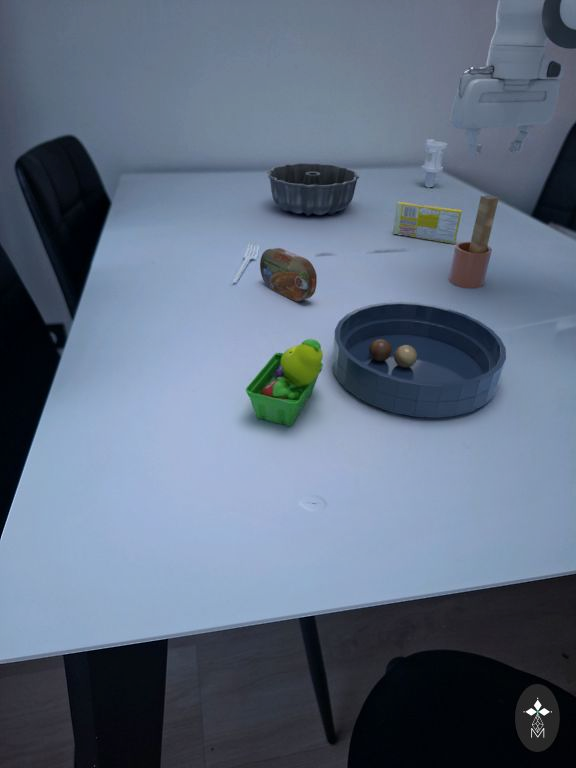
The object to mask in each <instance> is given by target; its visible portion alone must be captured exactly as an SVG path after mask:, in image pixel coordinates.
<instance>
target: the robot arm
mask: <svg viewBox="0 0 576 768" xmlns="http://www.w3.org/2000/svg"><path fill="white" fill-rule="evenodd" d="M495 19H496V22H495V23H496V24H495V29H494V33H493V36H492V37H491V41H490V43H489V47H488V48H489V49H488V54H487V59H486V65H484V66H475V65H474V66H469V67H468V69H467V70H464V72H463V73H462V74H461V75H460V77H459V81H458V87H457V90H456V93H455V97H454V100H453V104H452V106H451V107H452V108H451V112H450V117H449V121H450V124H451V126H452V127H453V128H456V129H460V130H465V136H466V140H467V144H468V148H467V155H469V156H474V157H475V156H479V155H481V150H482V147H483V144H479V141H478V136H480V134H481V129H489V128H490V129H492V128H493V129H494V128H507V127H508V128H509V127H518V128H517V131H518V133H517V135H516V137H515V139H514V140H510V143H509V144H510V145H509V148H508V150H509V152H510V153H513V154H514V153H521V152H522V151H523V148H524V143H526V141H527V139H528V138H529V137H530V136H531V133H532V132H533V128H534V126H545V125H549V123H550V122H551V121H552V119H553V117H554V116H555V112H556V109H557V105H558V101H559V95H560V92H561V91H560V90H561V83H560V79H561V78H562V77H563V76H564V73H565V70H566V65H565V64H564V63H562V62H561V61H558V60H557V59H555V58H553V57H552V56H550V55H548V54H546V50H547V49H546V48H547V45H548V41H550V42H552V44H553V45H556V46H557V47H559V48H562V49H567V50H568V49H571V50H572V49H576V0H498V2H497V6H496V12H495Z"/></svg>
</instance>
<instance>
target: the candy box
mask: <svg viewBox="0 0 576 768" xmlns="http://www.w3.org/2000/svg"><path fill="white" fill-rule="evenodd" d="M395 207H396V208H395V215H394V223H393V229H392V234H393V233H395V234H401V235H405V236H404V237H406V236H411V237H410V238H412V237H417V238H416V239H419V238H422V239H421V240H425V239H428V240H427V241H431V240H434V241H433V242H438V241H439V243H444V242H445V244H452V245H456V242H457V237H458V231H459V227H460V221H461V217H462V213H463V210H462V209H456V208H449V207H440V206H433V205H426V204H417V203H411V202H403V201H398V202H396V206H395Z"/></svg>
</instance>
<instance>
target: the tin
mask: <svg viewBox="0 0 576 768" xmlns="http://www.w3.org/2000/svg"><path fill="white" fill-rule="evenodd" d="M259 270H260V274H261V278H262V281H263V282H264V284H265V286H266V287H268V289H270V290H271V291H274V292H275V293H278V294H280V295H282V296H283V297H285V298H287V299H289V300H291V301H292V302H293V301H294V302H297V303H298V302H302V301H304V300H308V299H310V298H311V297H312V296H313V295H314V294H315V293H316V290H317V283H318V282H317V278H318V277H317V272H316V269H315V267H314V265H313V264H312V263H311V262H310V260H308V259H307V258H306V257H303V256H300V255H299V254H296V253H293V252H291V251H288V250H286V249H283V248H281V247H276V248H268V249H266V250H264V252H262V254H261V257H260V261H259Z"/></svg>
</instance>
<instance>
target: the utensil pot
mask: <svg viewBox="0 0 576 768" xmlns="http://www.w3.org/2000/svg"><path fill="white" fill-rule="evenodd" d="M470 243H471V241H463V242H458V243H455V247H454V251H453V257H452V261H451V264H450V265H451V266H450V271H449V276H448V282H449V283H450V284H452V285H453V286H455V287H459V288H462V289H469V290H470V289H480V288H482V287H484V284H485V280H486V276H487V273H488V269H489V263H490V260H491V256H492V253H493V249H492V248H491V247H490V246H489V245H487V250H486V253H471V252H469V248H470Z"/></svg>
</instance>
